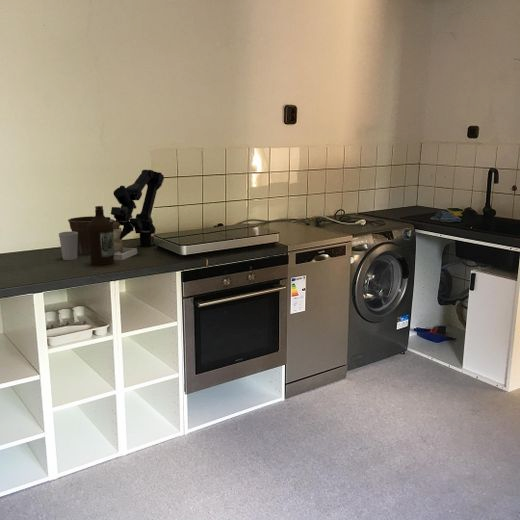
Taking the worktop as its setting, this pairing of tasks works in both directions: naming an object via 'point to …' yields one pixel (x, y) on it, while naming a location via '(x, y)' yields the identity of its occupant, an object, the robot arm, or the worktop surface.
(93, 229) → the olive oil
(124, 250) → the bin
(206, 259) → the worktop surface
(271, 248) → the worktop surface
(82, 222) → the plant pot
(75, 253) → the cup
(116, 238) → the pepper mill
